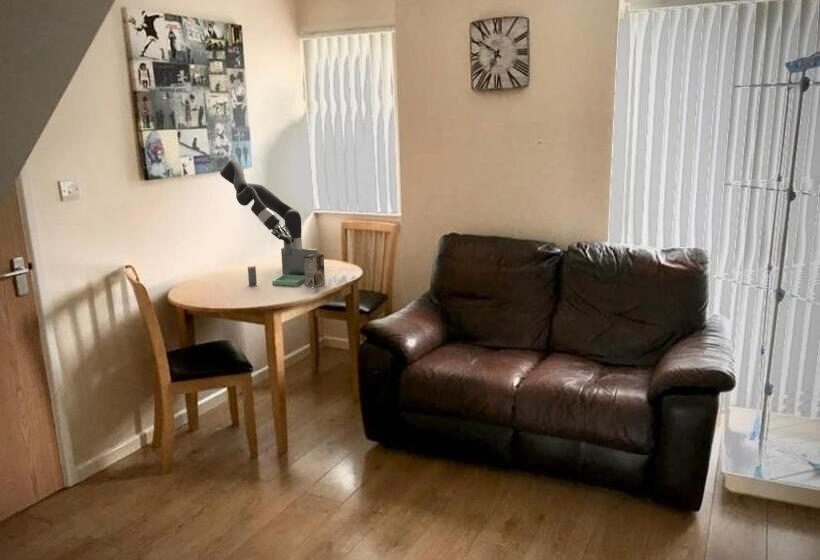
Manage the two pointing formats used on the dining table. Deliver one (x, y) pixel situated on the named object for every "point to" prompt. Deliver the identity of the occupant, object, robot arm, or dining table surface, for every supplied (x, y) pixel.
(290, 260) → the label unit
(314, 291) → the dining table surface
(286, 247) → the green-capped canister
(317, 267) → the coffee box
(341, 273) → the dining table surface
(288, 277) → the green tray
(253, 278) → the terracotta-capped canister
